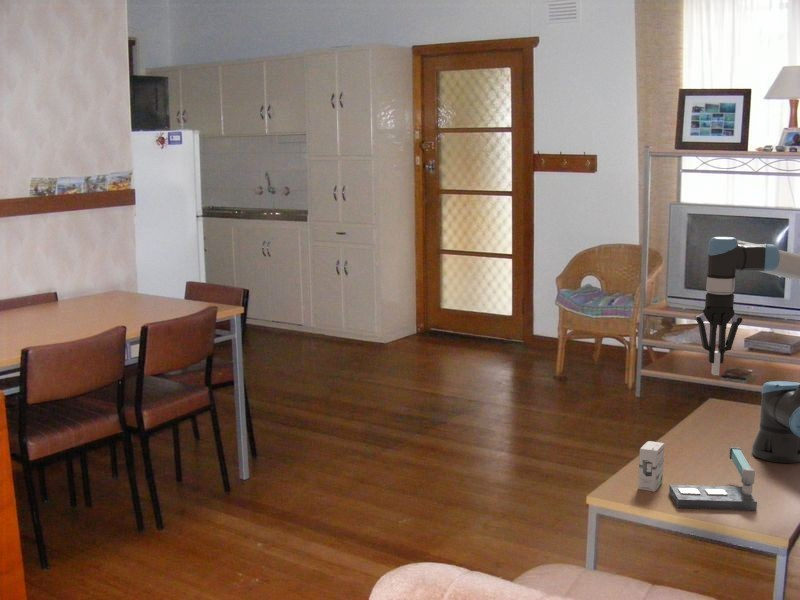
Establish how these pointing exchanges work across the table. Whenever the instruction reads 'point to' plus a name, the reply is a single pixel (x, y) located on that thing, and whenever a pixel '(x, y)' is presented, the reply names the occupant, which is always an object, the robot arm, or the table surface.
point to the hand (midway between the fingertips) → (715, 374)
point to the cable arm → (742, 465)
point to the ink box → (651, 466)
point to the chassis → (713, 497)
